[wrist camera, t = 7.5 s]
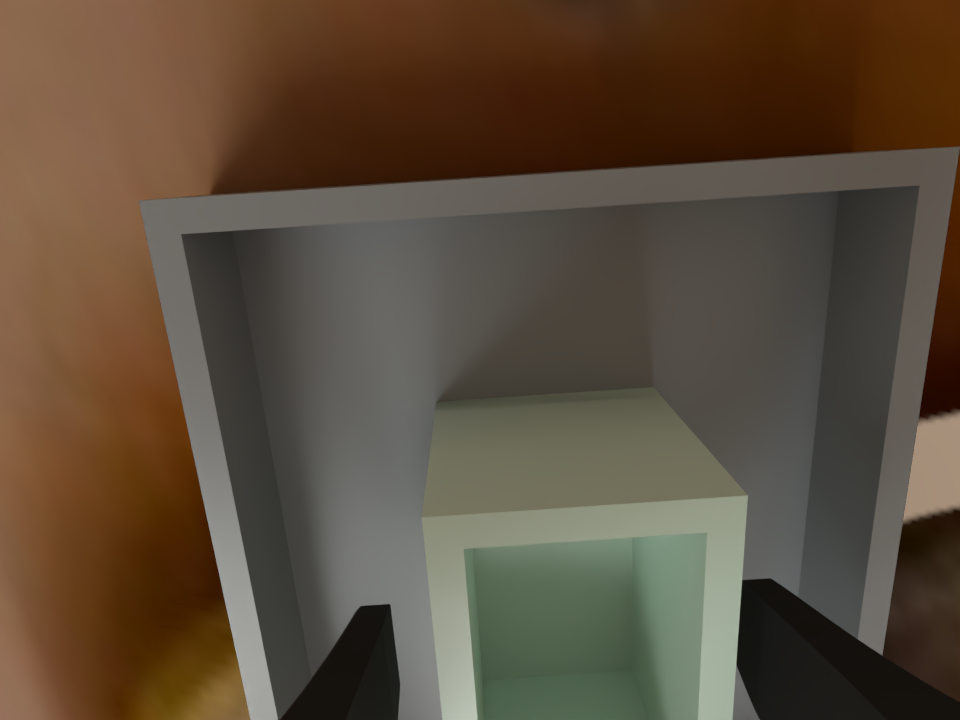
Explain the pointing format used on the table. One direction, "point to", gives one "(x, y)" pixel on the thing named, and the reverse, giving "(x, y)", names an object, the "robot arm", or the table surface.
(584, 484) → the mint crate
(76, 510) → the table surface
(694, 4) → the table surface
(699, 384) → the grey tray
